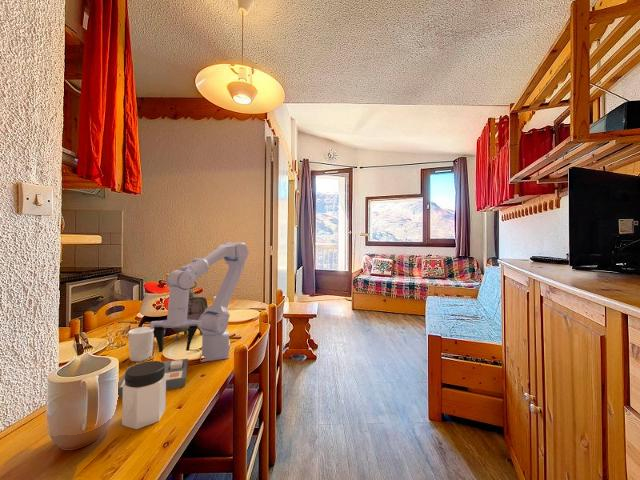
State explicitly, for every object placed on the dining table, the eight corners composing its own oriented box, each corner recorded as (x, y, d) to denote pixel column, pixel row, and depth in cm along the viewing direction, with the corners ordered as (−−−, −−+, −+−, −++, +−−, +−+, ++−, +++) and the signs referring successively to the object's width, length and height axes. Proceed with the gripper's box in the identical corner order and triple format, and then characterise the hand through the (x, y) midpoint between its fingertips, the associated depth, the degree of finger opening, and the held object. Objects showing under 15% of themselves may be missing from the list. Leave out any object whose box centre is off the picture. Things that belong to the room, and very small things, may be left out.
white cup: (141, 363, 94) (141, 334, 94) (122, 361, 96) (122, 332, 96) (158, 354, 102) (159, 327, 102) (141, 352, 104) (141, 325, 104)
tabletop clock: (172, 342, 114) (173, 282, 114) (166, 336, 120) (167, 280, 120) (207, 334, 124) (208, 279, 124) (199, 329, 130) (201, 277, 130)
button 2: (182, 366, 89) (182, 359, 89) (181, 370, 86) (181, 363, 86) (171, 367, 88) (171, 361, 88) (170, 372, 85) (170, 365, 85)
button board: (187, 365, 93) (187, 357, 93) (184, 386, 80) (185, 377, 80) (128, 374, 86) (128, 365, 86) (114, 398, 74) (115, 388, 74)
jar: (113, 424, 63) (115, 372, 63) (145, 404, 71) (146, 358, 71) (142, 433, 61) (144, 379, 61) (172, 411, 69) (173, 363, 69)
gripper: (149, 310, 82) (145, 356, 81) (201, 309, 87) (198, 353, 86) (155, 305, 89) (151, 348, 88) (203, 305, 93) (200, 346, 92)
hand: (174, 350), depth 87 cm, fingers open, 7 cm apart
